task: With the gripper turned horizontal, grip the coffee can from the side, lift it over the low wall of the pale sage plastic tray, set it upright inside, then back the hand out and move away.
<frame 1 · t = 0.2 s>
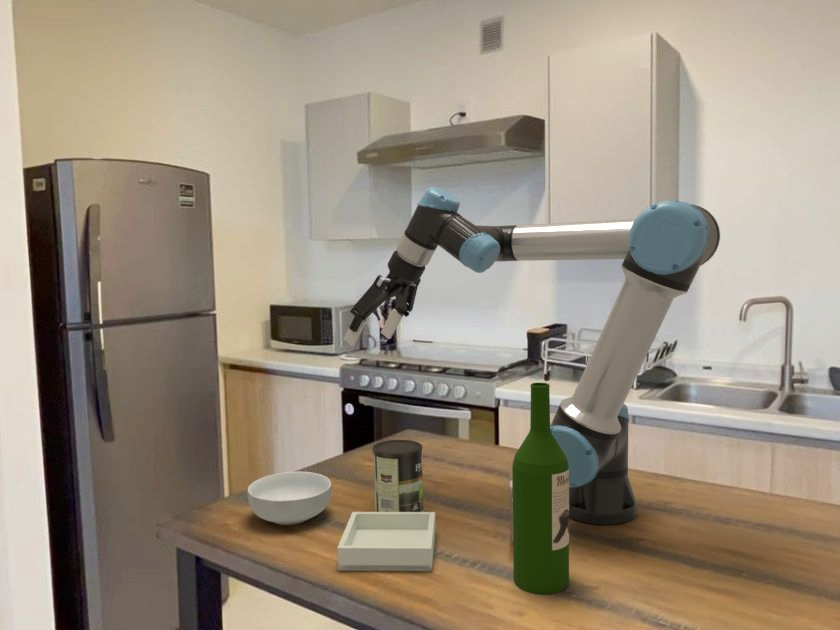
hand: (367, 339, 150), 35 cm above the table, tool tilted 35°, fingers open, 13 cm apart
cereal bowl: (291, 518, 140), on the table
wine bottle: (541, 582, 111), on the table
coffee can: (399, 513, 141), on the table
tray: (389, 550, 123), on the table
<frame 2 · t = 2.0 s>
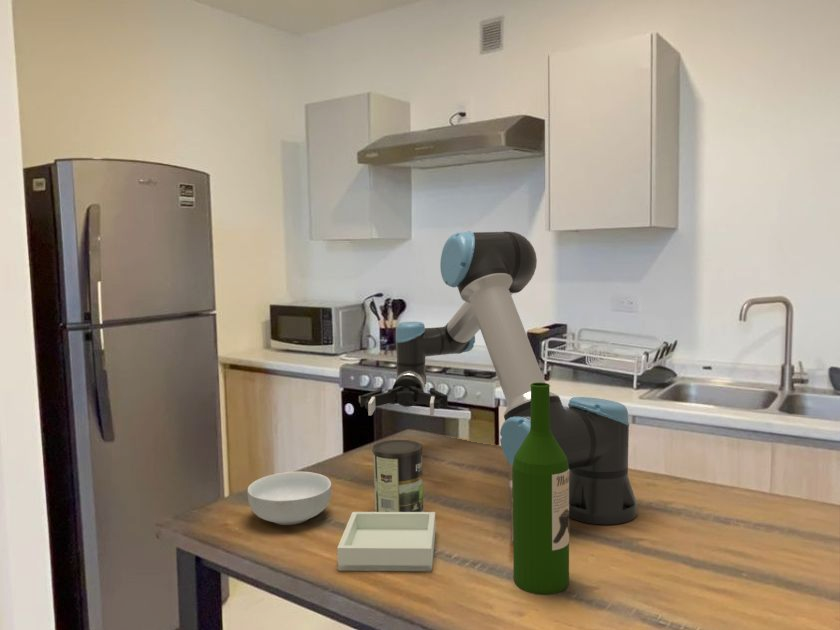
hand: (400, 409, 149), 19 cm above the table, tool horizontal, fingers open, 13 cm apart
nothing on the table moved.
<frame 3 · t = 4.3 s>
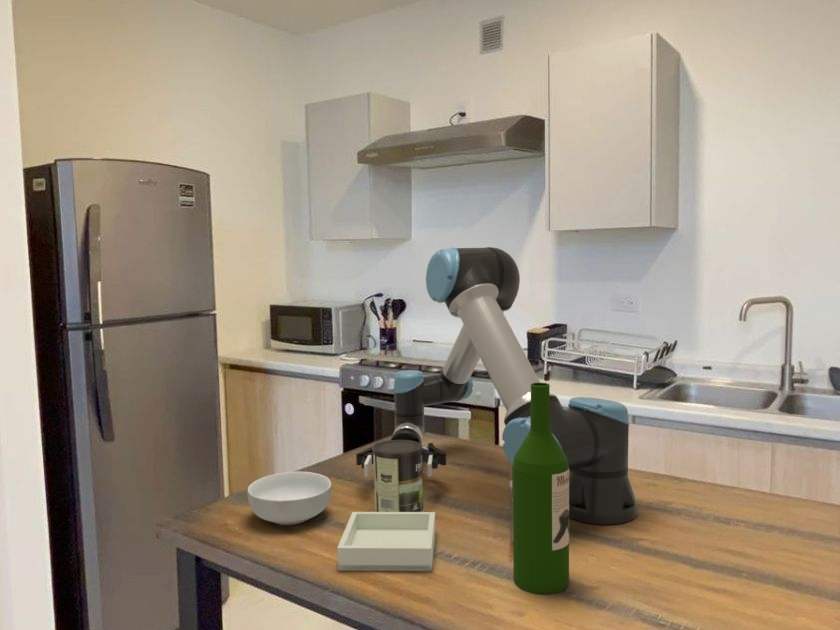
hand: (397, 470, 144), 8 cm above the table, tool horizontal, fingers open, 13 cm apart
nothing on the table moved.
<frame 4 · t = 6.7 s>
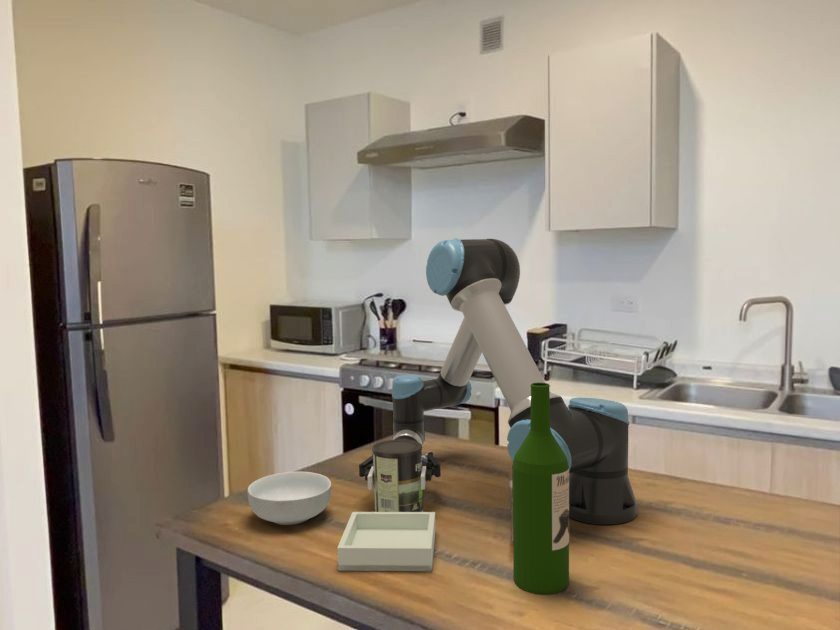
hand: (396, 483, 136), 8 cm above the table, tool horizontal, fingers closed on coffee can, 10 cm apart
coffee can: (398, 513, 141), on the table, touching gripper
everything else where it was.
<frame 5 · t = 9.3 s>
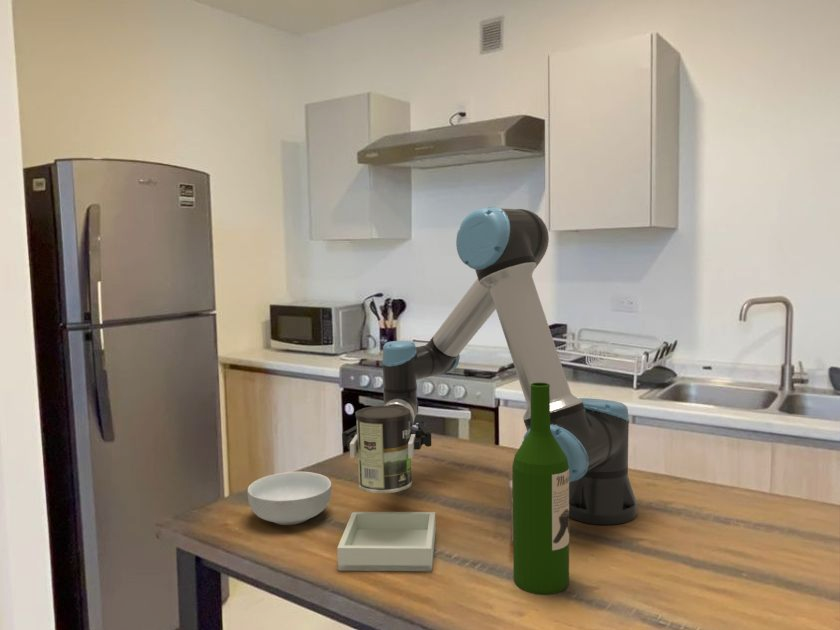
hand: (380, 451, 123), 18 cm above the table, tool horizontal, fingers closed on coffee can, 10 cm apart
coffee can: (385, 485, 128), point 10 cm above the table, touching gripper
everything else where it was.
when the fingers open (10 cm above the table, at t = 12.2 s): coffee can drops 1 cm, resting on tray.
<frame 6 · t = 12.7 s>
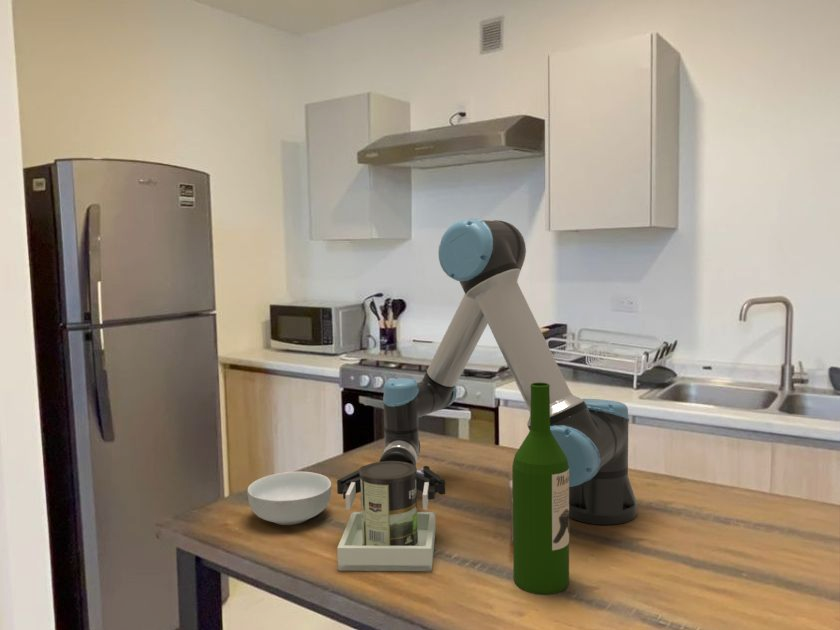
hand: (386, 502, 119), 10 cm above the table, tool horizontal, fingers open, 13 cm apart
coffee can: (390, 545, 123), point 1 cm above the table, touching tray
everything else where it was.
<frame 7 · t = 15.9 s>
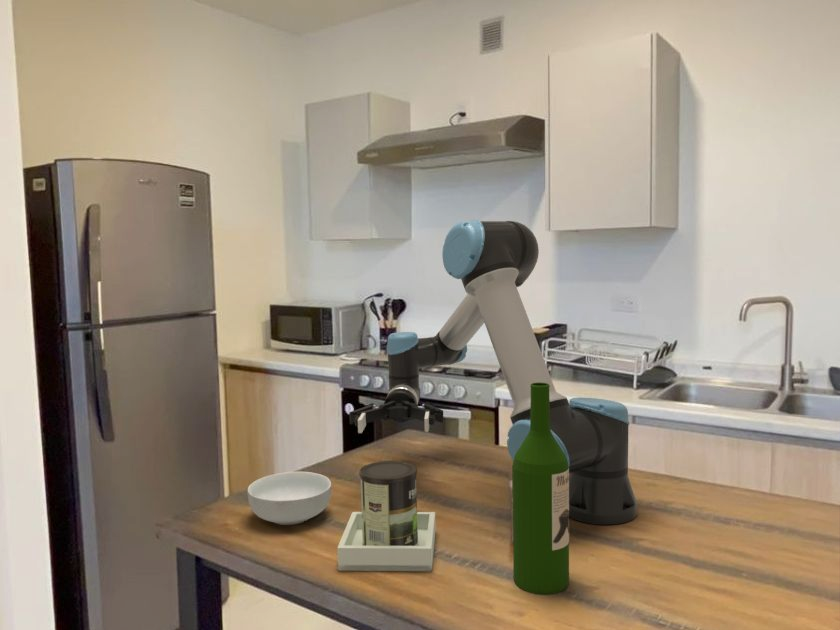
hand: (392, 426, 138), 19 cm above the table, tool horizontal, fingers open, 13 cm apart
nothing on the table moved.
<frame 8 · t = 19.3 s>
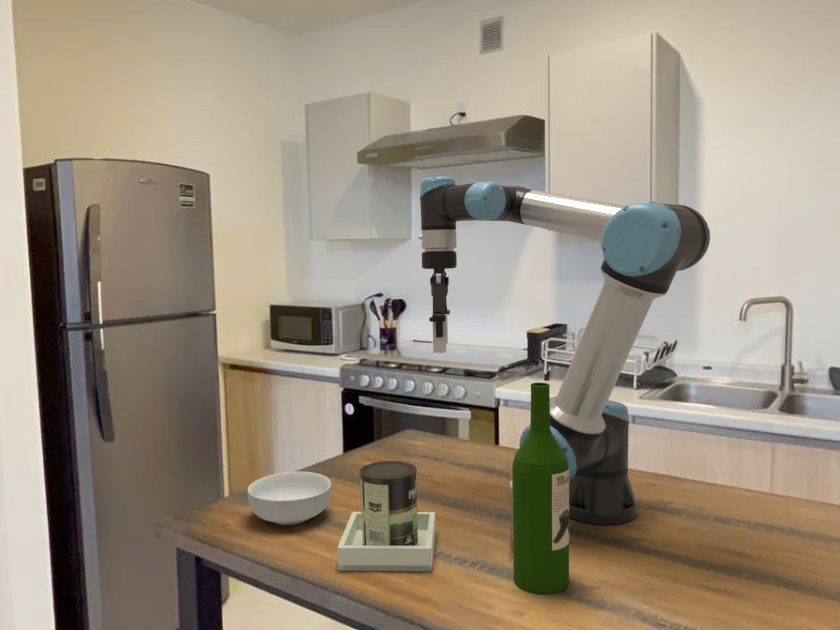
hand: (440, 348, 148), 33 cm above the table, tool pointing down, fingers open, 13 cm apart
nothing on the table moved.
at the end: coffee can inside the target area on the tray (0.1 cm from its centre), point 0.8 cm above the tray's base; coffee can tilted 0°; the gripper is holding nothing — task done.
